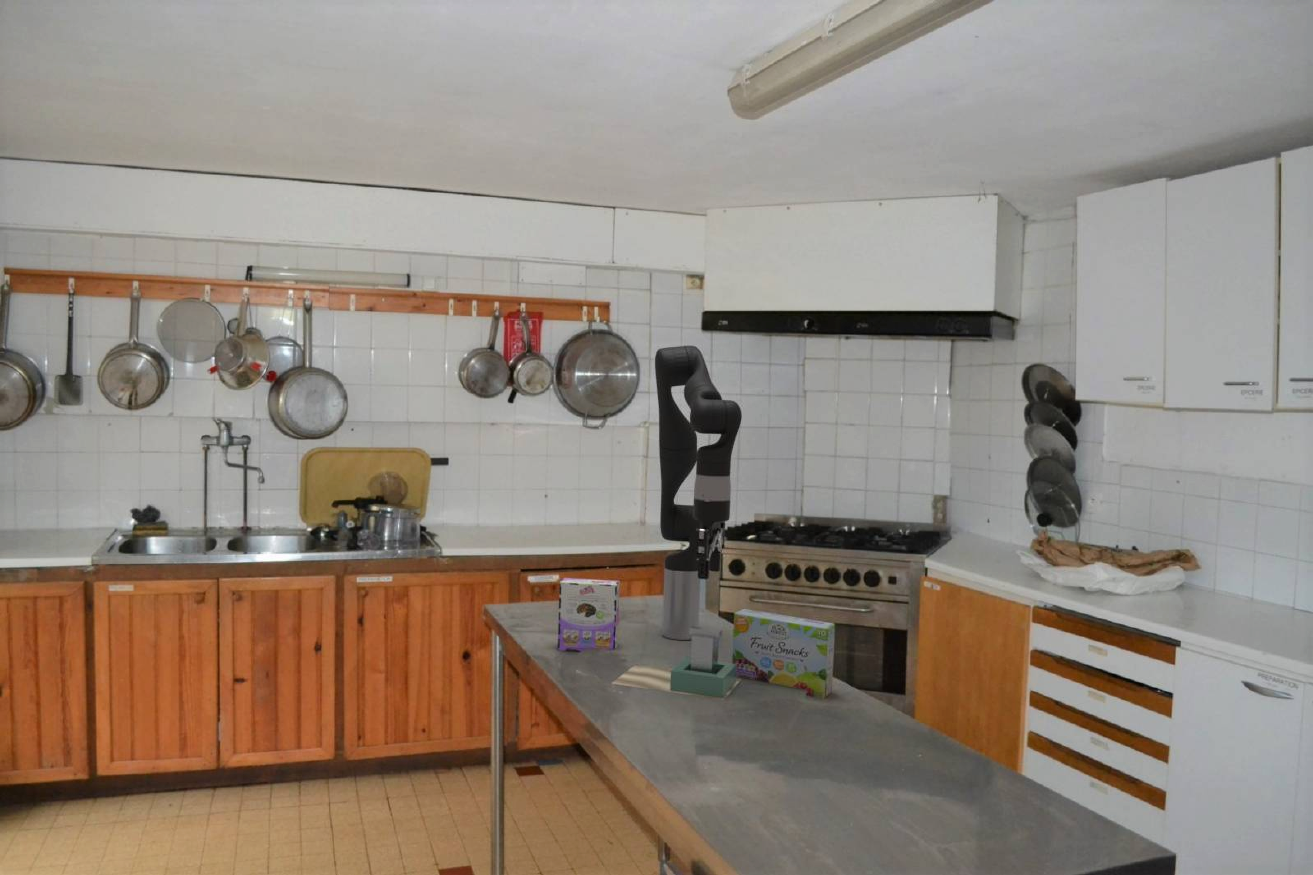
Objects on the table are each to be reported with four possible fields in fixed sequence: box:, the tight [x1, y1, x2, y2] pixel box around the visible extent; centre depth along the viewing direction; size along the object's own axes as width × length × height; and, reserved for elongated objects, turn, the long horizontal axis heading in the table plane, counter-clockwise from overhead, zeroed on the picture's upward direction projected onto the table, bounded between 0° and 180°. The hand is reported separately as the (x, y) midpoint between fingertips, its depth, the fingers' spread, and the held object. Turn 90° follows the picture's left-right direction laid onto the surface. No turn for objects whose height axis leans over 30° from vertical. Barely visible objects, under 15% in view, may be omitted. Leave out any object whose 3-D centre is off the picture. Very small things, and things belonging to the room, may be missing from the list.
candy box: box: [557, 577, 620, 653], centre depth 228 cm, size 14×6×16 cm, turn 84°
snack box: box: [731, 608, 836, 700], centre depth 205 cm, size 21×6×15 cm, turn 62°
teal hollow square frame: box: [670, 656, 737, 698], centre depth 199 cm, size 11×11×4 cm
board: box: [611, 664, 743, 701], centre depth 202 cm, size 15×24×1 cm, turn 71°
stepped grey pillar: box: [689, 626, 723, 674], centre depth 199 cm, size 4×6×12 cm
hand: (708, 574), depth 199 cm, fingers open, 8 cm apart
